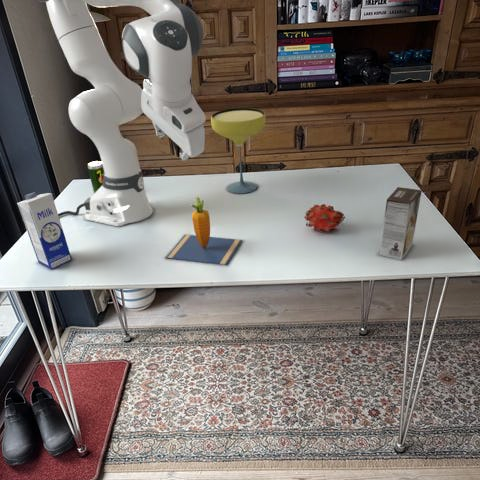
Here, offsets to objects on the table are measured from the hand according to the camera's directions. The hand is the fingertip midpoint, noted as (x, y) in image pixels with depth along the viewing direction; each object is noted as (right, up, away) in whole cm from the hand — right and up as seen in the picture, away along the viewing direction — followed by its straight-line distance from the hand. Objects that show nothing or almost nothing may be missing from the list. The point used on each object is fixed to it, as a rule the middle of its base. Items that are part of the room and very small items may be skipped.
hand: (172, 146), depth 121 cm
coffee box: (+60, -25, +9) cm, 65 cm away
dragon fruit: (+42, -17, +21) cm, 50 cm away
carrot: (+7, -24, +15) cm, 29 cm away
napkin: (+7, -24, +15) cm, 29 cm away
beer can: (-32, +1, +52) cm, 61 cm away
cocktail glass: (+18, +4, +51) cm, 54 cm away
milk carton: (-35, -27, +15) cm, 47 cm away
